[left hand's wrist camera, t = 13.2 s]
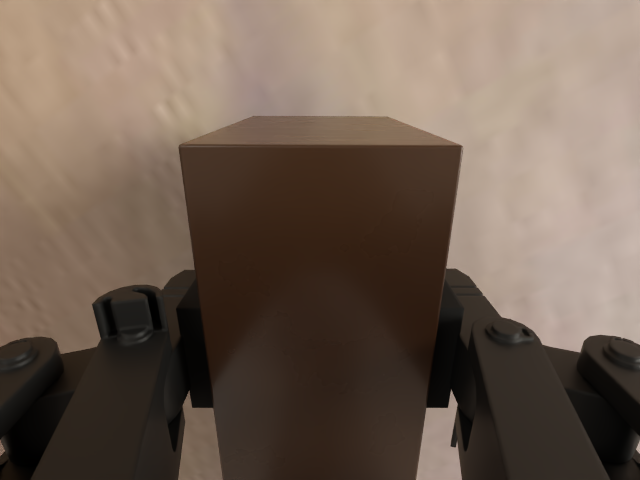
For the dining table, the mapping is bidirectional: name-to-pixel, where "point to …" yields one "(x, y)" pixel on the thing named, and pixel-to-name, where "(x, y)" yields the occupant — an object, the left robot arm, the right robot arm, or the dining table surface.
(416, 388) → the plank
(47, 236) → the dining table surface
